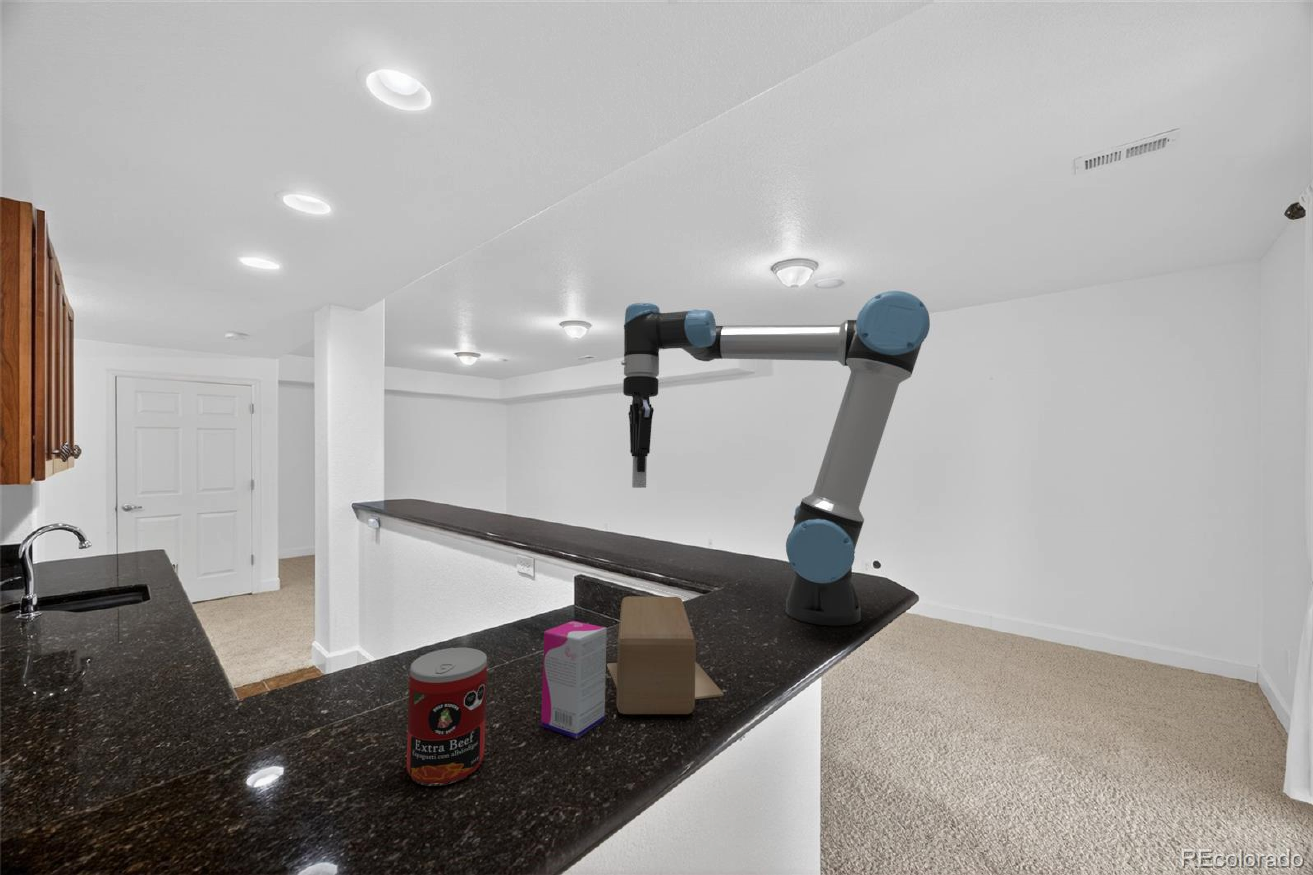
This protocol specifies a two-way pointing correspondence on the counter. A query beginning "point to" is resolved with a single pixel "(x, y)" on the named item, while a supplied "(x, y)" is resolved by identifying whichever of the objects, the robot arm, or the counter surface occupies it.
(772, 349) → the robot arm
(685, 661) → the wooden block
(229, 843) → the counter surface
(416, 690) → the canned food
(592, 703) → the supplement box
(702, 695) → the cork mat
